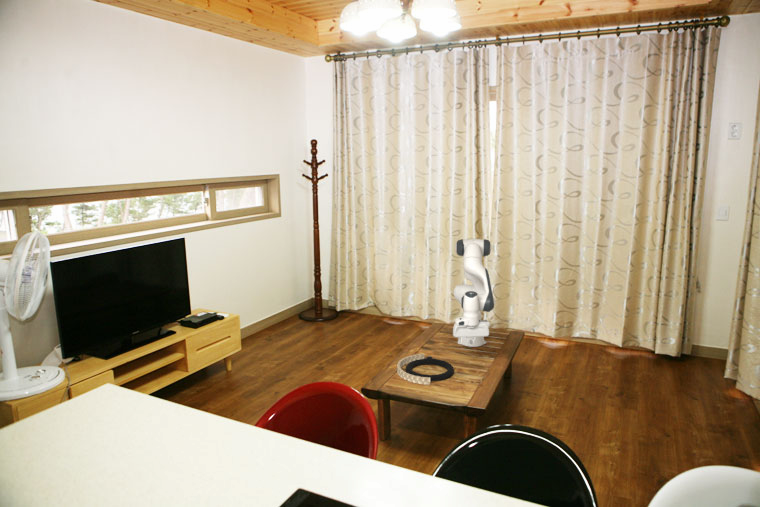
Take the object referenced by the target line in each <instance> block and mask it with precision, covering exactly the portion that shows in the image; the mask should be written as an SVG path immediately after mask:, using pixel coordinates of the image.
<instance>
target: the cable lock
mask: <svg viewBox="0 0 760 507" xmlns="http://www.w3.org/2000/svg"><path fill="white" fill-rule="evenodd" d="M425 365H428V366H429V365H431V366H439V367H442V368H444V369H445V370H446V371H445V372H443V373H439V374H424V373H423V374H422V373H419V372H416V371H414V370H413V369H414V368H416V367H419V366H425ZM404 371H405V372H406V373H408V374H411V375H415V376H420V377H430V382H439V381H444V380H447V379H448V378H451V377H452V376H453V375H454V371H455V369H454V367H453V365H452V364H451V363H449V362H447V361H446V360H442V359H438V358H433V356H430V355H428V356H426V357H424V358H423V359H419V360H415V361H412V362H410V363H407V364H406V366H405V370H404Z"/></svg>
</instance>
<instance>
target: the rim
mask: <svg viewBox="0 0 760 507" xmlns="http://www.w3.org/2000/svg"><path fill="white" fill-rule="evenodd" d="M423 358H425V353H417V354H412V355H407V356H405V357H403V358H401V359H400V360H398V362H397V363H396V364H397V365H396V373H397V375H398V376H399V377H400V378H401V379H404V380H405V381H408V382H411V383H414V384H419V385H427V386H428V385H431V381H430V377H420V376H415V375H411V374H408V373H406V370H403V369H402V367H403V366H405V365H408V364H409V363H410V362H412V361H415V360H419V359H423Z"/></svg>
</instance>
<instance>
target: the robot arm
mask: <svg viewBox="0 0 760 507" xmlns="http://www.w3.org/2000/svg"><path fill="white" fill-rule="evenodd" d="M454 249H455V252H456V255H457V256H460V257H462V258H463V259H462V261H463V262H462V264H463V269H464V274H463V275H464V278H466V279H467V280H468V281H470V282H471V284H457V285H455V287H454V289H453V293H452V294H453V297H454V298H455V300H456V301H457V302H458V303H459V304H460V306H461V307H460V308H462V311H463V313H462V314H463V315H462V316H459V317H457V318H455V319H454V322H455V323H454V324H453V326H452V336H453V337H454V338H457V344H458V345H461V346H464V347H465V346H466V347H470V348H471V347H474V348H475V347H476V348H477V347H481V346H483V345H485V344H487V341H486V340H485V337H489V335H490V330H489V328H490V321H489V320H487V319H482V312H488V313H489V312H491V311H492V310H494V309H495V306H496V302H495V298H494V292H493V290H492V289H493V288H492V285H491V279H490V274H489V271H488V269H487V268H486V267H485V266H484V265H483V258H485V257H488V256H489V255H490V254H491V252H492V249H493V248H492V244H491V241H490V240H488V239H485V238H483V239H482V238H465V239H458V240H457V241H456V243H455V246H454Z"/></svg>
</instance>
